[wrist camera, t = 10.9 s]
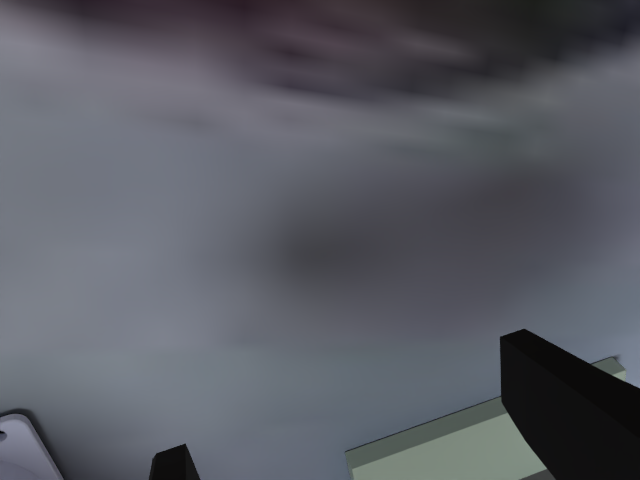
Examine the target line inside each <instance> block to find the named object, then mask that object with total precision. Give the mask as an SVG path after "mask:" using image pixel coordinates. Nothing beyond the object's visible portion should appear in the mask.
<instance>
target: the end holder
mask: <svg viewBox="0 0 640 480" xmlns="http://www.w3.org/2000/svg"><path fill="white" fill-rule="evenodd" d="M591 365H593V366H595V367H597V368H599V369H601V370H603V371H605V372H607V373H609V374H611V375H613V376H615V377H617V378H619V379H621V380H623V381H625V377H626V369H625V368H624V367H623V366H621V365H620V364H619V363H618V362H617V361H616V360H615V359H614V358H612V357H611V358H608V359H605V360H602V361H599V362H597V363H594V364H591ZM345 455H346V460H347V464H348V469H349V474H350V478H351V480H556V479H555V478H554V477H553V475H552V474H551V473H550V472H549V470H548V469H547V468H546V467H545V465H544V464H543V463H542V462H541V460H540V459H539V458H538V457H537V455H536V454H535V453H534V452H533V450H532V449H531V448H530V446H529V445H528V444H527V443H526V441H525V440H524V438H523V437H522V435H521V433H520V432H519V430H518V429H517V427H516V426H515V424H514V422H513V421H512V419H511V417H510V416H509V414H508V412H507V411H506V409H505V407H504V406H503V404H502V402H501V397H499V398H496V399H493V400H490V401H487V402H485V403H482V404H479V405H476V406H473V407H471V408H468V409H465V410H462V411H459V412H457V413H454V414H451V415H448V416H445V417H443V418H440V419H437V420H434V421H431V422H429V423H426V424H423V425H420V426H417V427H415V428H412V429H409V430H406V431H403V432H401V433H398V434H395V435H392V436H389V437H387V438H384V439H381V440H378V441H375V442H373V443H370V444H367V445H364V446H361V447H359V448H356V449H353V450H350V451H347V452H345Z"/></svg>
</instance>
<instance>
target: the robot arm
mask: <svg viewBox="0 0 640 480" xmlns="http://www.w3.org/2000/svg"><path fill="white" fill-rule="evenodd" d="M500 359H501V402H502V404H503V406H504V407H505V409H506V411H507V412H508V414H509V416H510V417H511V419H512V421H513V422H514V424H515V426H516V427H517V429H518V430H519V432H520V433H521V435H522V437H523V438H524V440H525V441H526V443H527V444H528V445H529V446H530V448H531V449H532V450H533V452H534V453H535V454H536V455H537V457H538V458H539V459H540V460H541V462H542V463H543V464H544V465H545V467H546V468H547V469H548V470H549V472H550V473H551V474H552V475H553V477H554V478H555V479H556V480H640V388H637V387H635V386H633V385H631V384H629V383H627V382H625V381H623V380H621V379H619V378H617V377H615V376H613V375H611V374H609V373H607V372H605V371H603V370H601V369H599V368H597V367H595V366H593V365H591V364H589V363H587V362H585V361H584V360H582V359H580V358H578V357H576V356H574V355H572V354H571V353H569V352H567V351H565V350H563V349H561V348H559V347H558V346H556V345H554V344H552V343H550V342H548V341H547V340H545V339H543V338H541V337H539V336H537V335H535V334H534V333H532V332H530V331H528V330H526V329H522V330H519V331H516V332H513V333H510V334H507V335H504V336H501V337H500ZM0 431H4V432H5V433H3V434H0V480H64V479H63V477H62V475H61V474H60V472H59V470H58V468H57V467H56V465H55V463H54V462H53V460H52V458H51V456H50V455H49V453H48V451H47V450H46V448H45V446H44V444H43V443H42V441H41V439H40V438H39V436H38V434H37V432H36V431H35V429H34V427H33V426H32V424H31V422H30V421H29V419H28V418H27V417H26V416H23V415H21V414H10V415H7V416H3V417H0ZM149 480H200V478H199V475H198V473H197V470H196V468H195V465H194V463H193V460H192V458H191V456H190V453H189V451H188V448H187V446H186V444H183V445H180V446H177V447H174V448H171V449H168V450H165V451H162V452H159V453H156V455H155V456H154V458H153V460H152V465H151V471H150V476H149Z"/></svg>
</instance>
